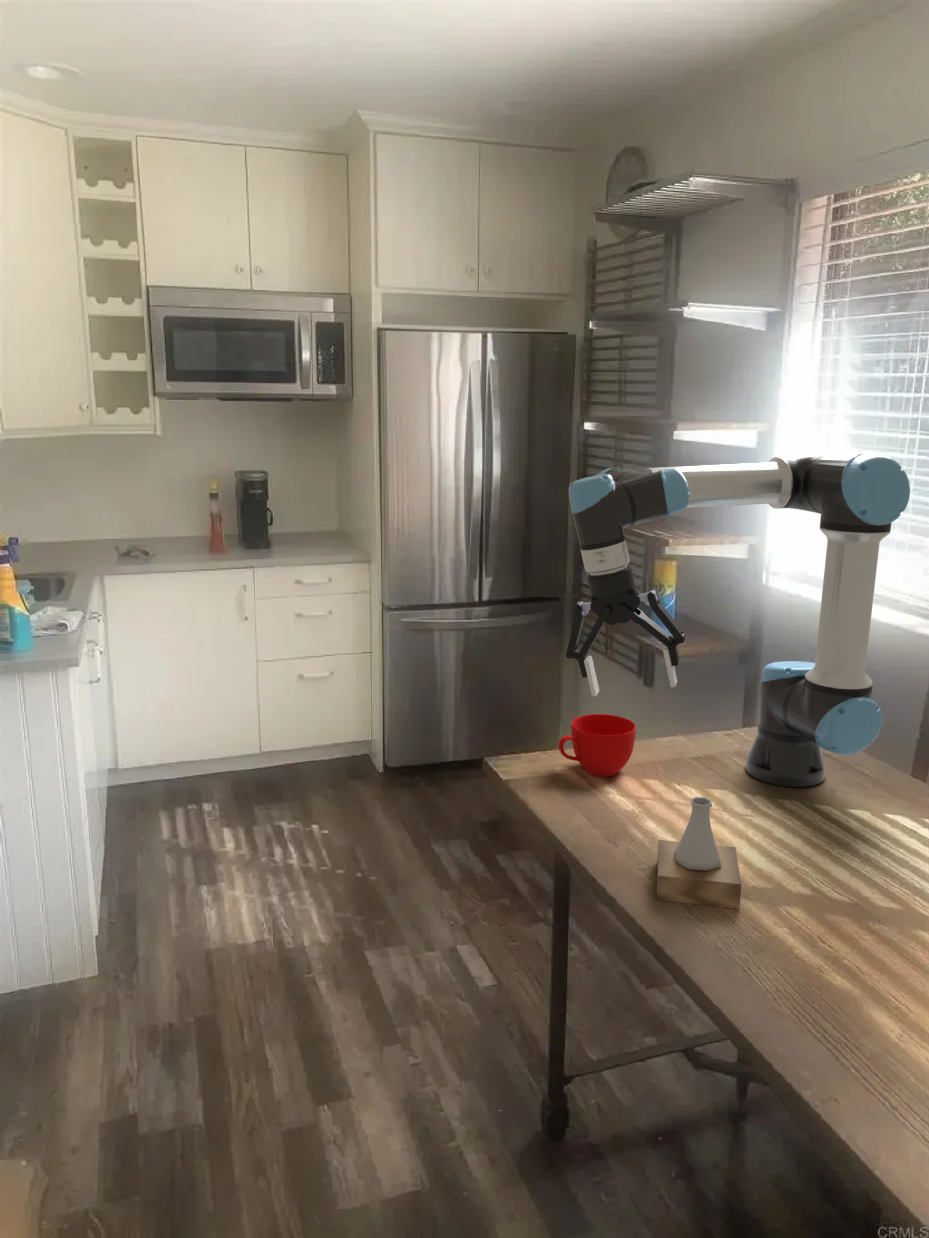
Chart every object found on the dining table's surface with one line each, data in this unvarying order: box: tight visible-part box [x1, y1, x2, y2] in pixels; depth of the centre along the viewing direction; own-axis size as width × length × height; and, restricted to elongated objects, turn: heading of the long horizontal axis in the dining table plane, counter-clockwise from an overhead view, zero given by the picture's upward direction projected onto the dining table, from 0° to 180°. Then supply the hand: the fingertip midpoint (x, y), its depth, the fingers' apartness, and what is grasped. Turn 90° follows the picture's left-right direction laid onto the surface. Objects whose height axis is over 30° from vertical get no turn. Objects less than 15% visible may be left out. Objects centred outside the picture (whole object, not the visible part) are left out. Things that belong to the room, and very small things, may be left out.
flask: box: [674, 796, 721, 871], centre depth 141 cm, size 7×7×10 cm
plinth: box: [656, 839, 742, 910], centre depth 143 cm, size 12×12×4 cm
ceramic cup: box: [558, 713, 637, 778], centre depth 186 cm, size 13×17×10 cm
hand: (634, 689), depth 156 cm, fingers open, 13 cm apart
